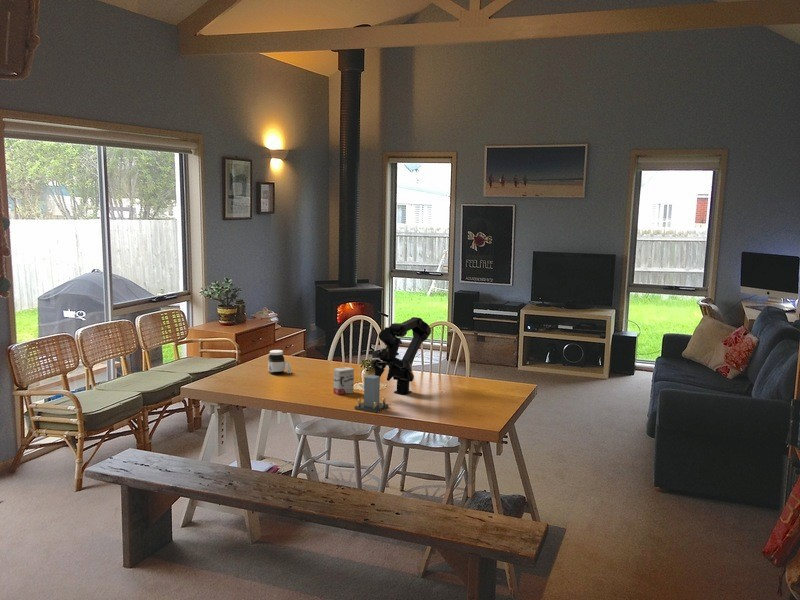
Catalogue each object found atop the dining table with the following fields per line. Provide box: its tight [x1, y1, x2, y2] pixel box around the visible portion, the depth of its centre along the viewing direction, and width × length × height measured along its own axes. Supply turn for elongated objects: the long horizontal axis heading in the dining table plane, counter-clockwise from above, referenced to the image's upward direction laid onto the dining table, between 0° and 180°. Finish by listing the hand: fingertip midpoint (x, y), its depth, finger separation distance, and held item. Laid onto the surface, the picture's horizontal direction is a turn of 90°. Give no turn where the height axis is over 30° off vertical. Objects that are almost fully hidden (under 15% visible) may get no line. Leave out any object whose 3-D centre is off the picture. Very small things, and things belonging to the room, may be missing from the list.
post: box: [363, 374, 381, 408], centre depth 307 cm, size 5×5×13 cm
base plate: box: [354, 397, 389, 414], centre depth 307 cm, size 11×11×4 cm
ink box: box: [333, 366, 355, 396], centre depth 330 cm, size 9×5×12 cm, turn 126°
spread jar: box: [267, 349, 292, 375], centre depth 366 cm, size 12×11×12 cm
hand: (381, 380), depth 315 cm, fingers open, 9 cm apart
